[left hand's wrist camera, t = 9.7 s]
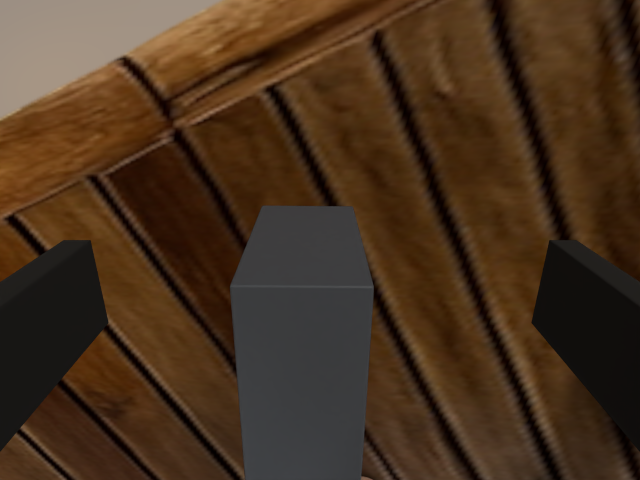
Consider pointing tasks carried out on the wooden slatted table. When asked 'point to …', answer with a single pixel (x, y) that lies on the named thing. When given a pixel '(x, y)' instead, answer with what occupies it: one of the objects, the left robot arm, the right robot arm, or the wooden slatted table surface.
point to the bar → (303, 344)
